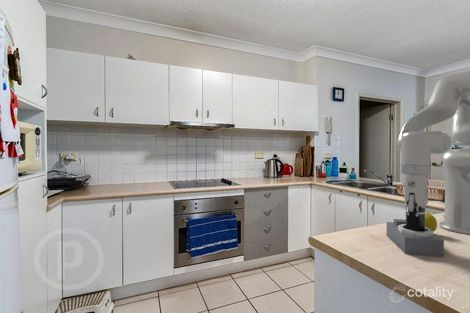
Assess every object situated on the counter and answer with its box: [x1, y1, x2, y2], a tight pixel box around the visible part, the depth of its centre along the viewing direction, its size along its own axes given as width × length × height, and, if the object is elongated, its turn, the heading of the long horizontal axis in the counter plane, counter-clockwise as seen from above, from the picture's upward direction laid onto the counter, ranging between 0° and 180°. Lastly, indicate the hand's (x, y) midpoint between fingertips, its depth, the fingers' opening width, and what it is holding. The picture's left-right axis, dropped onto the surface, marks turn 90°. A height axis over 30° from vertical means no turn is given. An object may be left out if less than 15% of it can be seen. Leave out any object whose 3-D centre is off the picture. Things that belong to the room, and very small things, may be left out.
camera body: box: [386, 218, 445, 258], centre depth 79 cm, size 16×10×6 cm, turn 165°
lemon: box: [425, 212, 438, 233], centre depth 89 cm, size 6×6×8 cm
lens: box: [405, 205, 426, 231], centre depth 77 cm, size 5×5×7 cm
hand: (414, 225), depth 77 cm, fingers closed on lens, 5 cm apart
